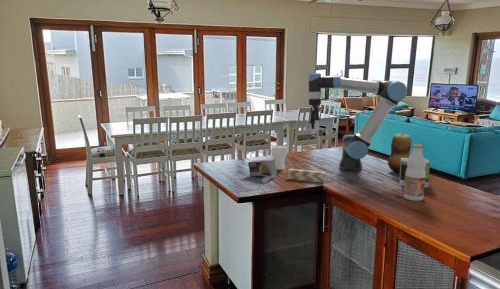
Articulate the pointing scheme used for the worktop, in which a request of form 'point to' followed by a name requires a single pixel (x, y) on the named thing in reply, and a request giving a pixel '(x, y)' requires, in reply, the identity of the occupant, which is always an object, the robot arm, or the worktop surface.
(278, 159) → the cup
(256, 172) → the coffee box
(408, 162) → the fruit juice
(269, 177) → the stop batten
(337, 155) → the worktop surface
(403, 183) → the tea box
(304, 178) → the beech stick
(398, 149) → the butternut squash
